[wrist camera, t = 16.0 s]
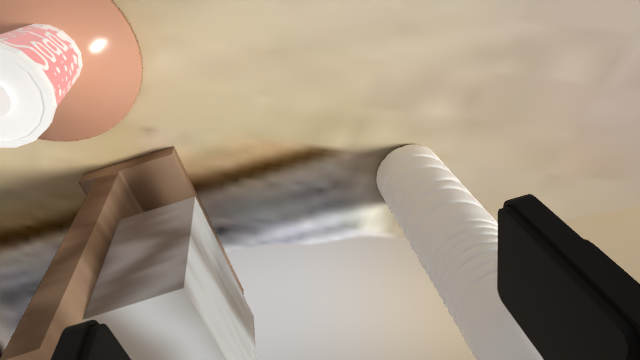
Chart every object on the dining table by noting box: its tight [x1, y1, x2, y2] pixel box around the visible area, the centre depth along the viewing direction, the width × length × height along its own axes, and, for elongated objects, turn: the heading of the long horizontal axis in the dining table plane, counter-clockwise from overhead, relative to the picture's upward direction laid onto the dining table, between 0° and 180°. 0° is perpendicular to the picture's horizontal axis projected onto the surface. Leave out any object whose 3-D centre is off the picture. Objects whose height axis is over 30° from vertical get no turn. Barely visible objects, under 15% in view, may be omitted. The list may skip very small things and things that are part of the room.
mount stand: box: [0, 147, 256, 360], centre depth 34 cm, size 10×18×20 cm, turn 14°
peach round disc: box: [0, 0, 143, 141], centre depth 32 cm, size 13×13×1 cm
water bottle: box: [376, 144, 544, 360], centre depth 33 cm, size 9×6×25 cm
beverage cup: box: [0, 24, 83, 148], centre depth 26 cm, size 6×6×14 cm
